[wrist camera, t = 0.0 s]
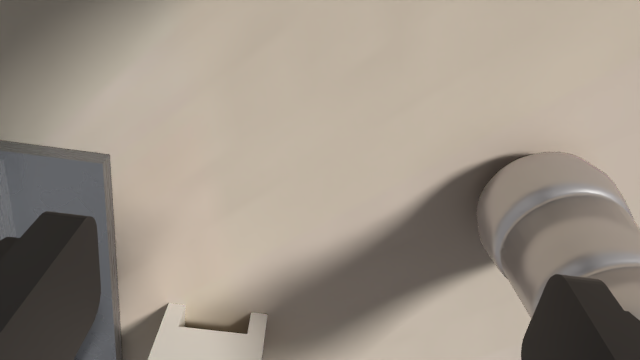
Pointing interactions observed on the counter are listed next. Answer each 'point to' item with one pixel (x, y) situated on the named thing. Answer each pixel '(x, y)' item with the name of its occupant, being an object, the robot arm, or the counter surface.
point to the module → (206, 339)
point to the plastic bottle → (559, 227)
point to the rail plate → (72, 198)
